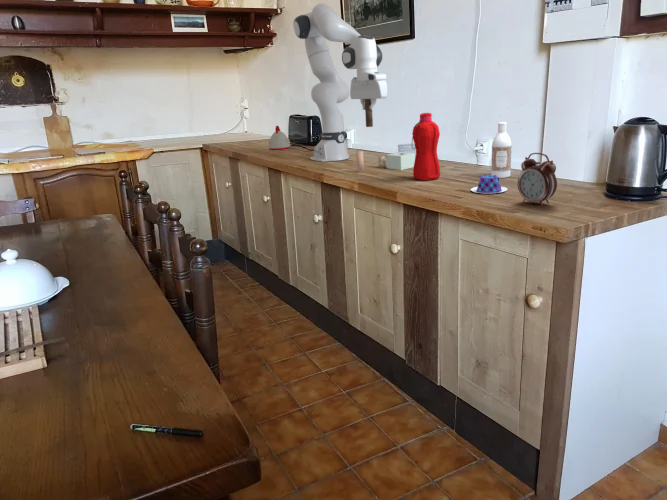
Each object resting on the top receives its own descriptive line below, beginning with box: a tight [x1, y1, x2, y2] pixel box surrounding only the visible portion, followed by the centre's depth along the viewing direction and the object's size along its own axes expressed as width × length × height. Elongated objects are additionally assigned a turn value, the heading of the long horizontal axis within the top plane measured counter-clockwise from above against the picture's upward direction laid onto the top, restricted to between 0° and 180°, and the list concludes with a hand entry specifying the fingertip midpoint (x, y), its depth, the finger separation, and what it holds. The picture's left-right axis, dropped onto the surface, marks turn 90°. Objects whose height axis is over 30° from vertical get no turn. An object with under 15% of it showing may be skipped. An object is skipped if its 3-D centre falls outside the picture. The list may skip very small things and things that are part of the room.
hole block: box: [385, 151, 415, 171], centre depth 230 cm, size 9×9×6 cm
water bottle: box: [411, 112, 441, 182], centre depth 198 cm, size 9×11×25 cm
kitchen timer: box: [268, 125, 292, 151], centre depth 330 cm, size 14×14×15 cm
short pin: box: [377, 155, 386, 169], centre depth 234 cm, size 3×3×5 cm
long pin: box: [364, 99, 374, 128], centre depth 224 cm, size 3×3×14 cm
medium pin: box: [356, 150, 365, 173], centre depth 226 cm, size 3×3×9 cm
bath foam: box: [490, 121, 513, 179], centre depth 192 cm, size 7×7×20 cm
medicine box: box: [397, 143, 416, 157], centre depth 241 cm, size 8×4×9 cm, turn 84°
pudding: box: [470, 174, 508, 195], centre depth 173 cm, size 12×12×5 cm
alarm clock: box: [517, 152, 558, 207], centre depth 150 cm, size 11×5×15 cm, turn 33°
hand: (368, 109), depth 223 cm, fingers closed on long pin, 3 cm apart
